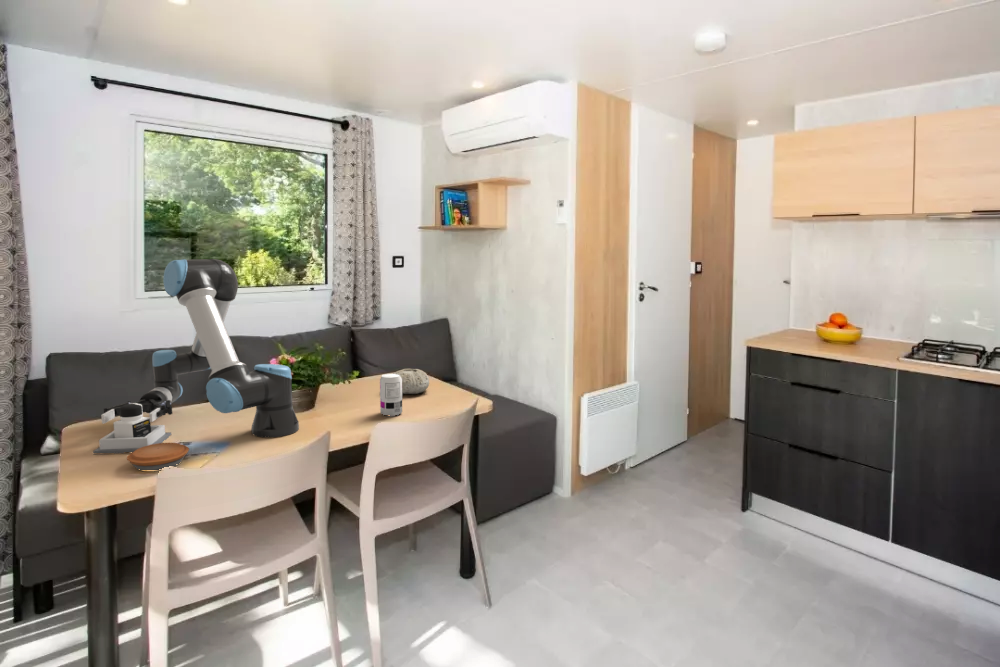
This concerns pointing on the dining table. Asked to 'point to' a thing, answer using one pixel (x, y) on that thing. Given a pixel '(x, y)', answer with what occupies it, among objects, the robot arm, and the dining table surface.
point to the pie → (158, 456)
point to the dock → (131, 441)
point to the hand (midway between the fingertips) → (126, 418)
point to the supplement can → (391, 394)
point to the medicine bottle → (132, 422)
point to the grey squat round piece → (413, 381)
